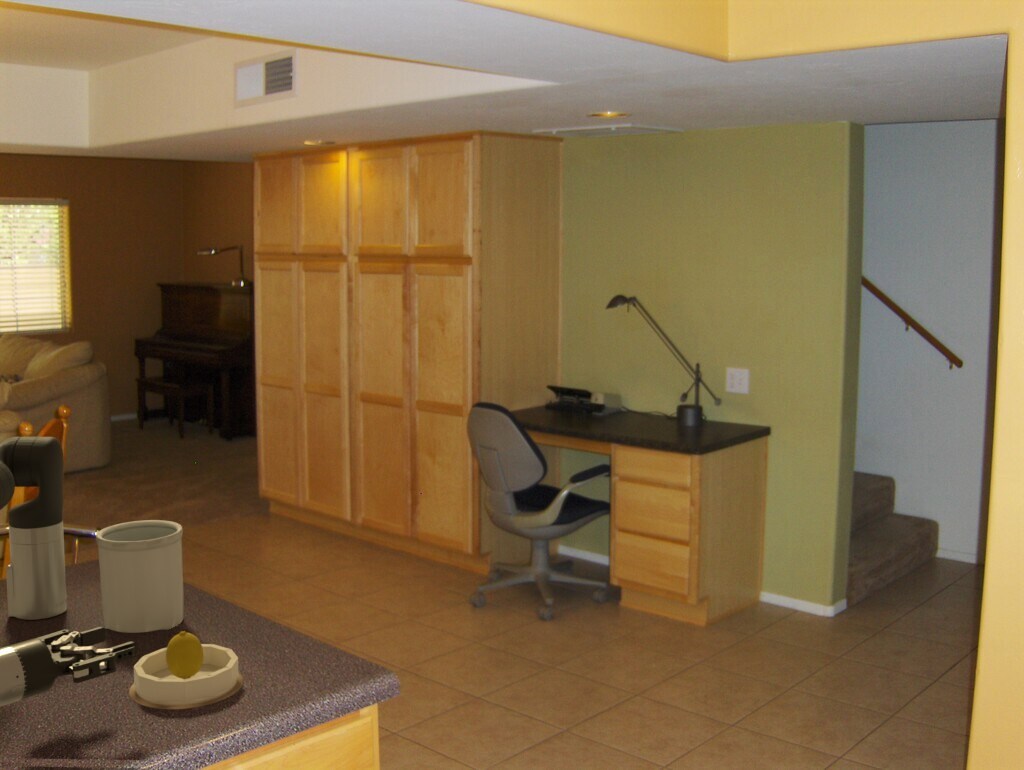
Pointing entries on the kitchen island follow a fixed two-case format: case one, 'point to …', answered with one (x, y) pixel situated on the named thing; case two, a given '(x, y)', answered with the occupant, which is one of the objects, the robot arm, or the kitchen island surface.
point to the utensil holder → (141, 575)
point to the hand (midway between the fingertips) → (119, 640)
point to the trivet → (134, 697)
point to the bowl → (173, 691)
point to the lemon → (184, 655)
